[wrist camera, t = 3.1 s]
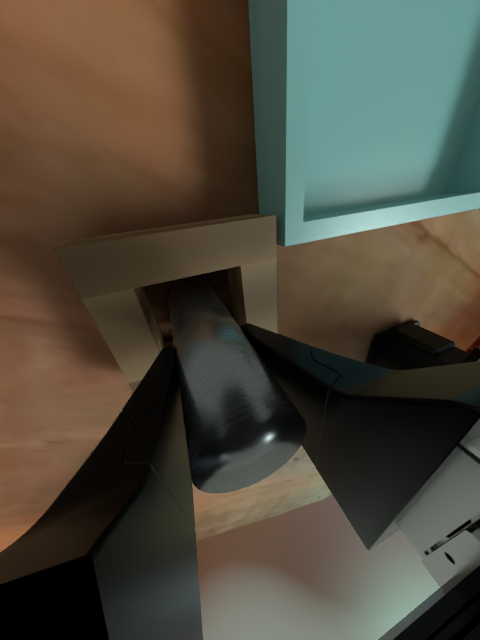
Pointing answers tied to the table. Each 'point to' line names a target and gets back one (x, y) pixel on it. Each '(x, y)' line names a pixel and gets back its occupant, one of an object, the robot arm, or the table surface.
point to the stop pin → (227, 396)
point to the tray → (364, 112)
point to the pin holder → (171, 278)
